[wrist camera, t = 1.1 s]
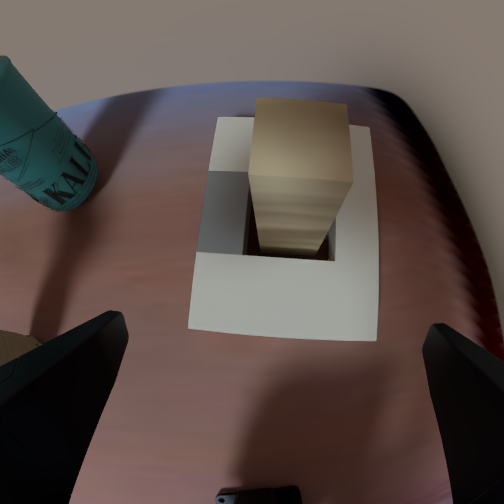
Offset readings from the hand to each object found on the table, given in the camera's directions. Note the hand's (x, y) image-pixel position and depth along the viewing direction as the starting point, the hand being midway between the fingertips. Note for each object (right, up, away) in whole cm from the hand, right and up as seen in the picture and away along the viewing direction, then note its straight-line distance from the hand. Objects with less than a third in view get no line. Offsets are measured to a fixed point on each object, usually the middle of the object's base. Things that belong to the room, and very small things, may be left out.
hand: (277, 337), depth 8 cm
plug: (+2, +4, +15) cm, 16 cm away
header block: (+2, +4, +15) cm, 16 cm away
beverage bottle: (-17, +8, +18) cm, 26 cm away
